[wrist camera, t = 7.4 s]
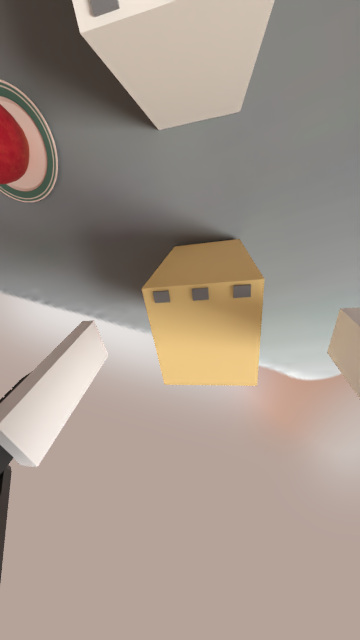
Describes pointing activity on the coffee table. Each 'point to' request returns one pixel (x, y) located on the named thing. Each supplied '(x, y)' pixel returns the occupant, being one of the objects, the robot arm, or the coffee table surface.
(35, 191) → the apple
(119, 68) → the white box
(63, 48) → the coffee table surface
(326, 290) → the coffee table surface
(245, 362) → the stub
